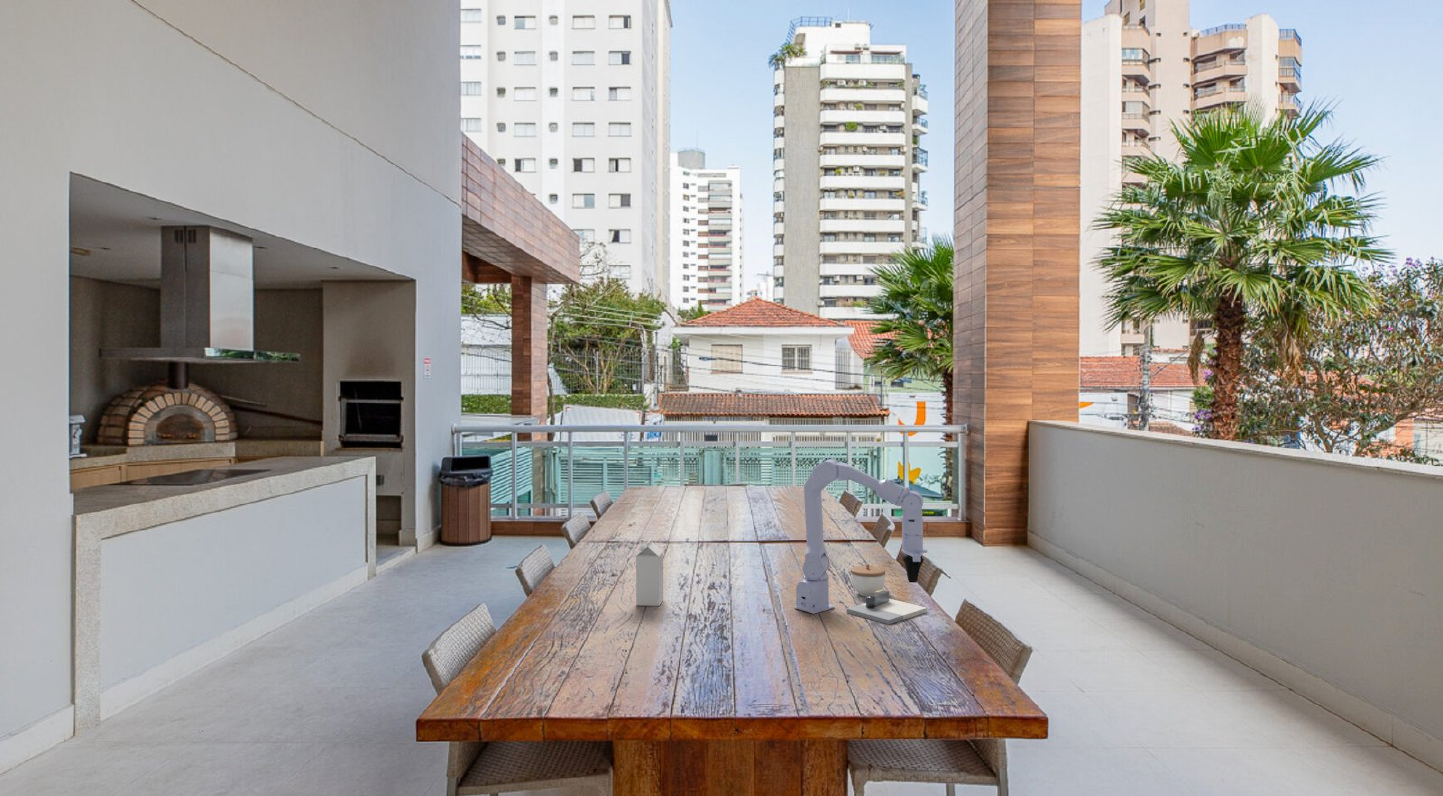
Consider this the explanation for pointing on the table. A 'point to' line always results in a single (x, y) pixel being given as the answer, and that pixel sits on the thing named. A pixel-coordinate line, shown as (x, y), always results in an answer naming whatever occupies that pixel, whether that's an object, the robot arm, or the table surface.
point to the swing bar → (877, 599)
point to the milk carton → (649, 575)
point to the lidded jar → (867, 579)
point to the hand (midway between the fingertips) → (912, 581)
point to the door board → (887, 611)
